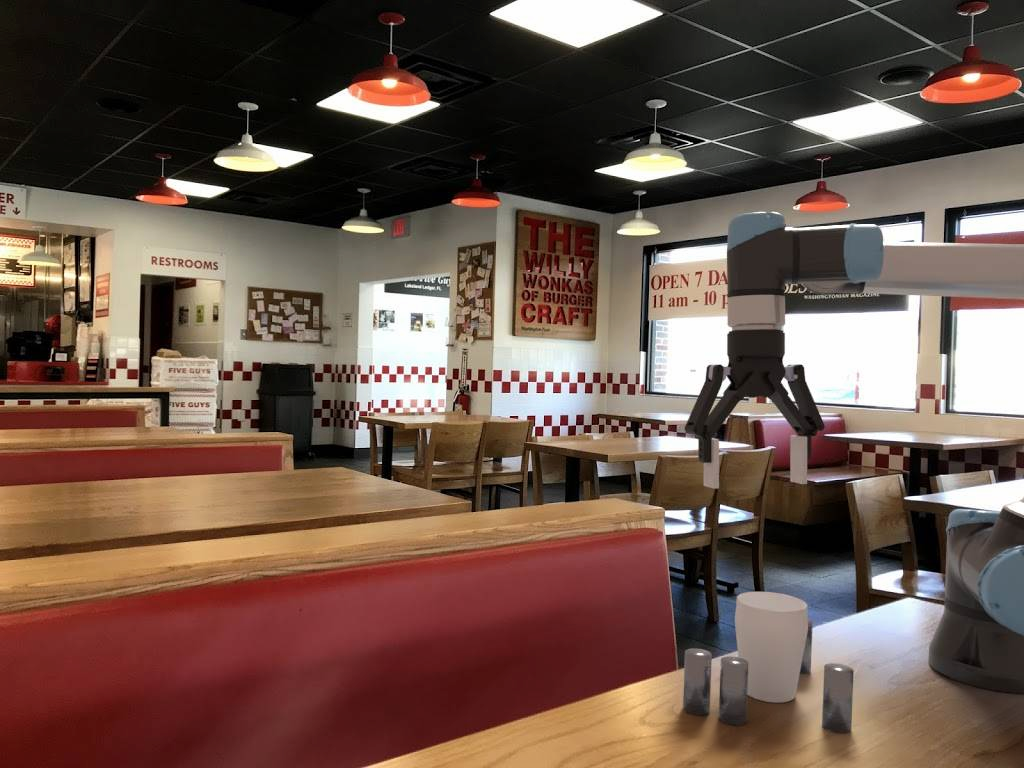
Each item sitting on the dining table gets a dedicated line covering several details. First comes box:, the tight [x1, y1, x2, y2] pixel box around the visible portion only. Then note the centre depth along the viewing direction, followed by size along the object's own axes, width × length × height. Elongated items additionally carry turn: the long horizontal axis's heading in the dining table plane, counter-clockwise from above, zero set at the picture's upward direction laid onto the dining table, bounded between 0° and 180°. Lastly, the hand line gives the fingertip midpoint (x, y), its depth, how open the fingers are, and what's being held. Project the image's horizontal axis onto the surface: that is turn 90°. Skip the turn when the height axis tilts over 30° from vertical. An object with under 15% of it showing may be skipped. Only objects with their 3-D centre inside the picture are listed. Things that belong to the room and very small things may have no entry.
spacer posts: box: [682, 618, 854, 734], centre depth 104 cm, size 19×21×7 cm
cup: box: [734, 591, 808, 704], centre depth 103 cm, size 9×9×12 cm
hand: (755, 485), depth 109 cm, fingers open, 13 cm apart
